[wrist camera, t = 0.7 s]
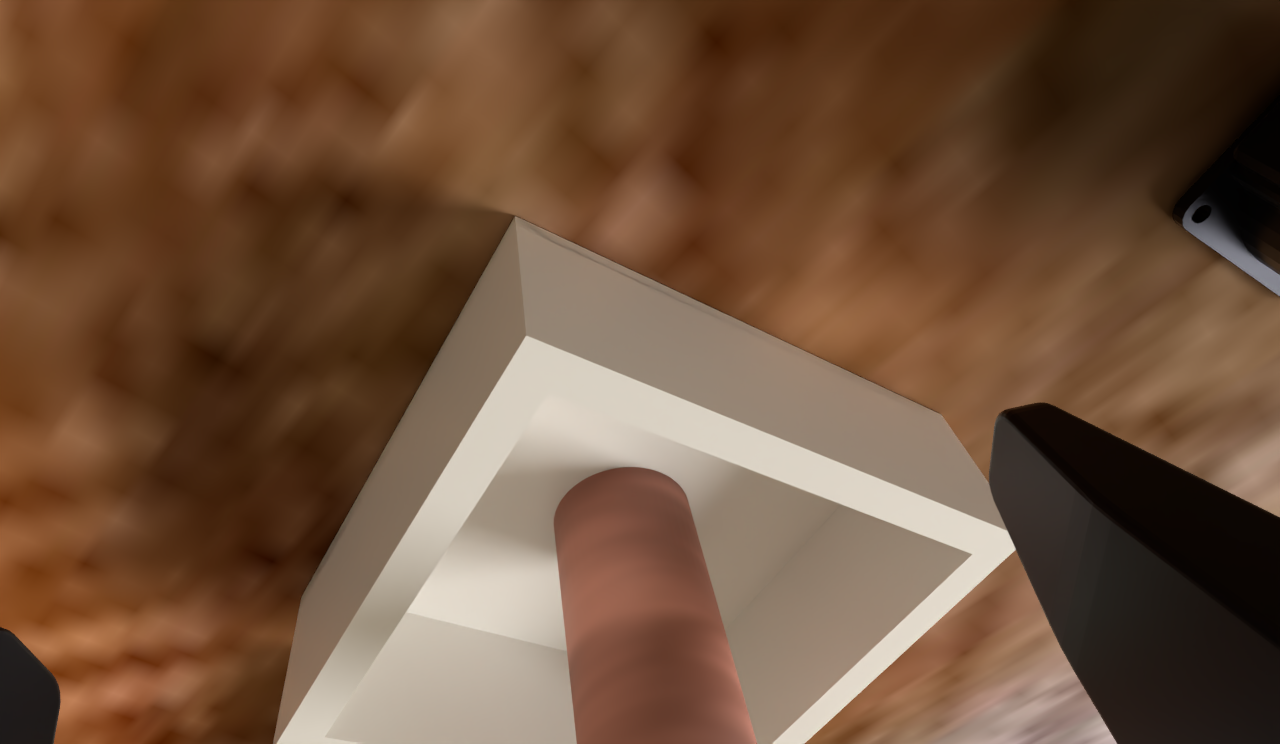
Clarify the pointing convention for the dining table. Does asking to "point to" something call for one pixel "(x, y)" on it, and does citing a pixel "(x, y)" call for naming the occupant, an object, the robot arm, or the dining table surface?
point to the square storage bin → (614, 438)
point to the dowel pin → (643, 617)
